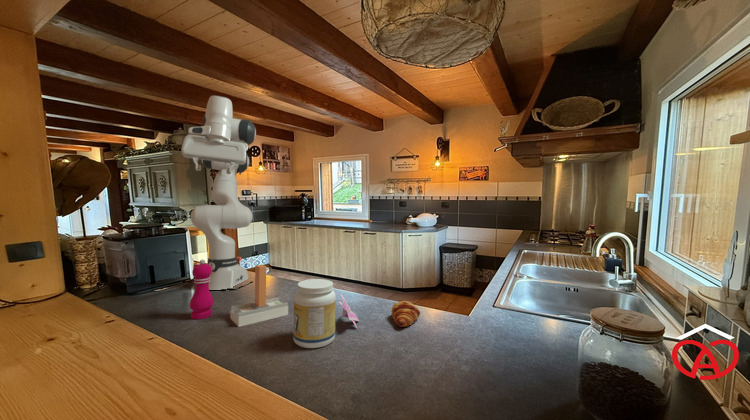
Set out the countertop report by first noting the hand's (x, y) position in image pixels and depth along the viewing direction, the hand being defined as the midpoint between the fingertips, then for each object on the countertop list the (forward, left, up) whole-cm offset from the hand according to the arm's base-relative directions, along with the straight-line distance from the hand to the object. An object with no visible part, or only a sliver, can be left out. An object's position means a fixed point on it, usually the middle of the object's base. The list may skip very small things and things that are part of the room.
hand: (213, 171), depth 102 cm
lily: (-10, +48, -51) cm, 71 cm away
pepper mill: (+1, -3, -51) cm, 51 cm away
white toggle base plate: (-6, +16, -51) cm, 54 cm away
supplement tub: (+3, +43, -51) cm, 67 cm away
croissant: (-23, +65, -51) cm, 86 cm away
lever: (-5, +16, -48) cm, 51 cm away
